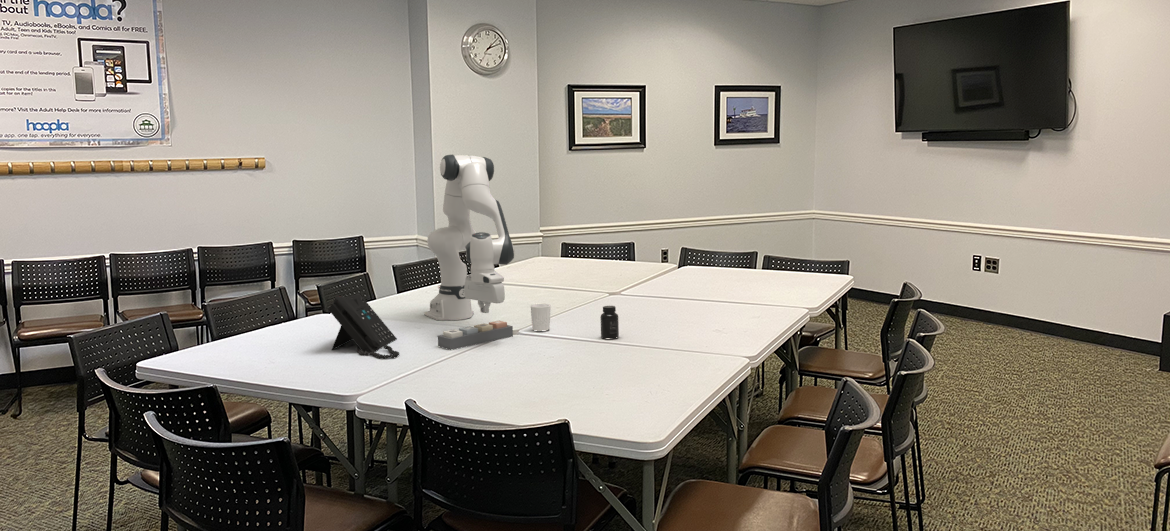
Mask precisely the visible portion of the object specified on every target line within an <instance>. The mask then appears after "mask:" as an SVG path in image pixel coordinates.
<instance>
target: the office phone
mask: <svg viewBox="0 0 1170 531" xmlns="http://www.w3.org/2000/svg"><path fill="white" fill-rule="evenodd" d="M364 298H365V297H363V296H362V294H360V292H359V293H356V294H353V295H351V296H348V297H344V296H343V295H335V297H334V299H333V301H332V304H330V306H329V307H328V309H327V310H328V311H329V312H330V313H331V315H332V316H333V317H334V319H335V320H336V321H337V323H339V325H340V328H339V330H338V333H337V335H336V338H335V340H334V343H333V345H332V348H331V351H332V350H334V349H337V348H338V346H339V347H341V346H342V344H343V345H344V343H345V344H346V342H347V343H349V342H350V341H353V342H355V344H356V345H357V347H356V352H357V353H358V354H359V355H360V356H364V355H365V356H368V355H373V356H372V357H375V358H377V359H380V358H383V359H382V360H386V359H385V358H392V359H395V358H394V357H397V356H398V355H399V356H400V351H398V350H393V348H392V346H391V345H390V346H389V344H390V342H391V341H392V342H394V341H396V340H397V339H398V338H397V337H396V335H395V334H393V332H392V331H391V330H390V328H389V327H388V326H387V325H386V324H385V322H384V321H383V320H382V319H381V317H380V316H379V315H378V314H377V313H376V312H375V311H374V309H373V308H372V307H371V305H370V304H369V303H368V302H367V301H366V300H365V299H364ZM395 339H396V340H395ZM393 340H394V341H393ZM392 342H391V343H392ZM388 343H389V344H388ZM386 344H387V345H386ZM340 345H341V346H340ZM336 347H337V348H336ZM358 348H359V349H360V350H359V349H358ZM380 349H382V350H383V349H384V350H387V351H388V353H389V354H380V353H377V351H378V350H380ZM376 350H377V351H376ZM399 356H398V357H399ZM398 357H397V358H398Z"/></svg>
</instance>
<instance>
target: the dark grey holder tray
mask: <svg viewBox="0 0 1170 531" xmlns="http://www.w3.org/2000/svg"><path fill="white" fill-rule="evenodd" d="M513 329H514V328H513V325H510V324H507V327H503V328H498V329H496V328H493V330H488V331H483V332H481V331H478V333H474V334H469V335H465V334H463V336H460V337H455V338H448V337H445V336H443V334H440V335H437V346H440V347H439V348H442V347H443V348H442V349H446V348H447V349H446V350H449V349H450V350H449V351H452V350H451V349H453V350H457V348H458V349H461V347H462V348H465V347H466V346H467V347H471V346H475V344H476V345H480V344H484V343H488V342H493V341H498V340H503V339H506V338H507V339H508V338H511V336H512V337H513V336H514V332H513V331H514V330H513Z"/></svg>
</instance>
